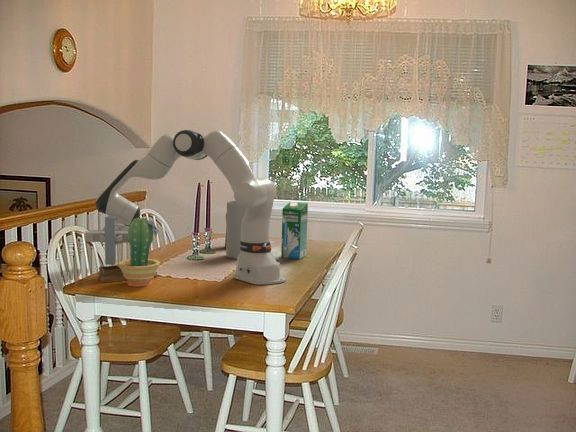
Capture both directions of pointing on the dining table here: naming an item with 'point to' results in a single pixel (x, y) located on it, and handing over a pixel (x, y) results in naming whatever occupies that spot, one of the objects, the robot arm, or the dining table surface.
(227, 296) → the dining table surface
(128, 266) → the potted cactus
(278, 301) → the dining table surface
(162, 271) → the dining table surface
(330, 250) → the dining table surface
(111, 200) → the robot arm
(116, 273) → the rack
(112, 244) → the blue-grey rectangular bar
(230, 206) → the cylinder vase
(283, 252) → the milk carton
